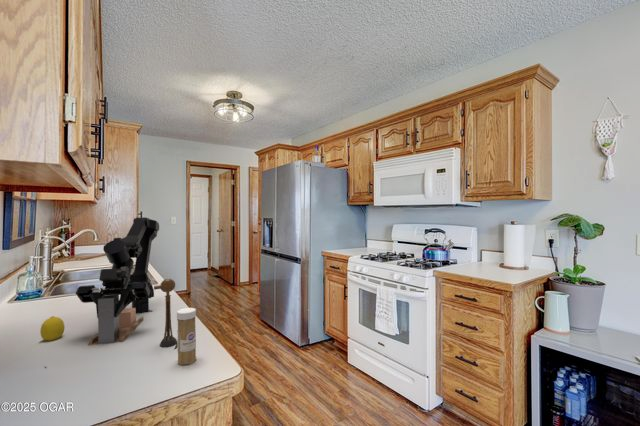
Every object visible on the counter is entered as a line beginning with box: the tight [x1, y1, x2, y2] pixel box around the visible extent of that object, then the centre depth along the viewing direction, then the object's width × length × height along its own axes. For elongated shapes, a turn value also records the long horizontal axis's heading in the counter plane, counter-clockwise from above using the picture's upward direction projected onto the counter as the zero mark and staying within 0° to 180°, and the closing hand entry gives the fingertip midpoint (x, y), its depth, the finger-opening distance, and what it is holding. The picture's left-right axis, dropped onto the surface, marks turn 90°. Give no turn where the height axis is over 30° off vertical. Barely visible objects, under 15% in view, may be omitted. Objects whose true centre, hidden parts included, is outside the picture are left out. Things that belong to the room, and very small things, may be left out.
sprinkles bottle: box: [176, 307, 197, 366], centre depth 79 cm, size 5×5×13 cm
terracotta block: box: [119, 307, 137, 328], centre depth 103 cm, size 5×5×5 cm
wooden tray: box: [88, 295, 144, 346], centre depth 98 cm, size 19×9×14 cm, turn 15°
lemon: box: [40, 315, 65, 342], centre depth 93 cm, size 6×6×8 cm
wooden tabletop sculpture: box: [153, 278, 178, 350], centre depth 87 cm, size 6×5×20 cm
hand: (107, 317), depth 89 cm, fingers closed on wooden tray, 4 cm apart
